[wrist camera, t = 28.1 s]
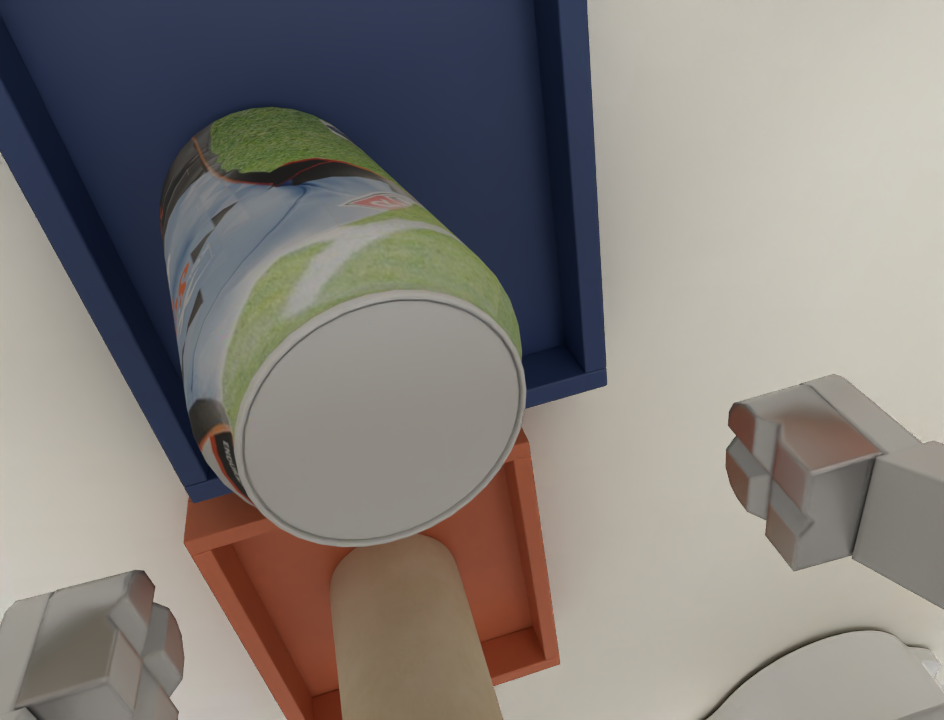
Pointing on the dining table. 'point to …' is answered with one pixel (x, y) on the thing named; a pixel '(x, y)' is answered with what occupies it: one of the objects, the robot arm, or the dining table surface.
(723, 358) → the dining table surface
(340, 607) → the candle
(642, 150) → the dining table surface
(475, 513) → the terracotta tray
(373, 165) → the beverage can
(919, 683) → the robot arm
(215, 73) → the navy tray
